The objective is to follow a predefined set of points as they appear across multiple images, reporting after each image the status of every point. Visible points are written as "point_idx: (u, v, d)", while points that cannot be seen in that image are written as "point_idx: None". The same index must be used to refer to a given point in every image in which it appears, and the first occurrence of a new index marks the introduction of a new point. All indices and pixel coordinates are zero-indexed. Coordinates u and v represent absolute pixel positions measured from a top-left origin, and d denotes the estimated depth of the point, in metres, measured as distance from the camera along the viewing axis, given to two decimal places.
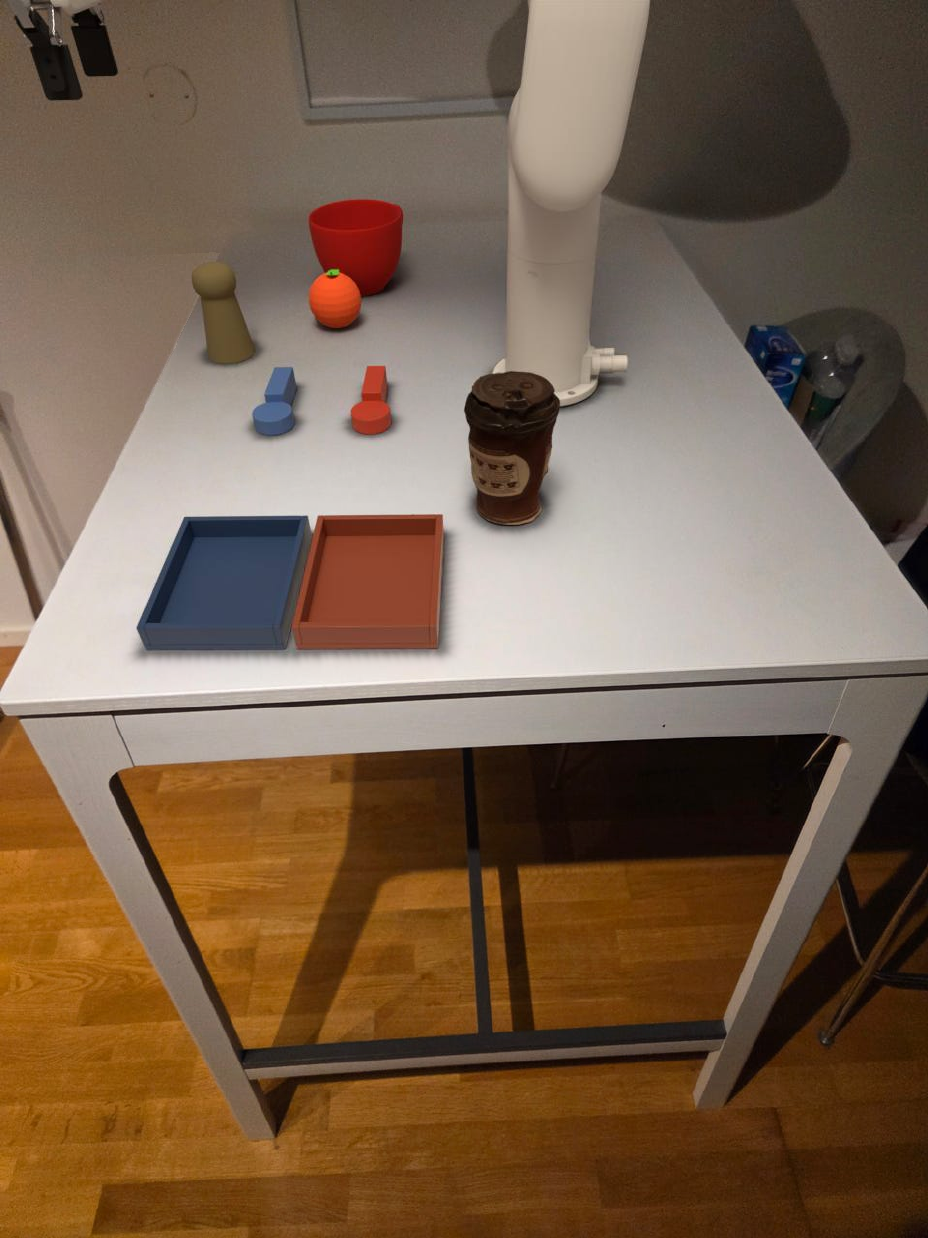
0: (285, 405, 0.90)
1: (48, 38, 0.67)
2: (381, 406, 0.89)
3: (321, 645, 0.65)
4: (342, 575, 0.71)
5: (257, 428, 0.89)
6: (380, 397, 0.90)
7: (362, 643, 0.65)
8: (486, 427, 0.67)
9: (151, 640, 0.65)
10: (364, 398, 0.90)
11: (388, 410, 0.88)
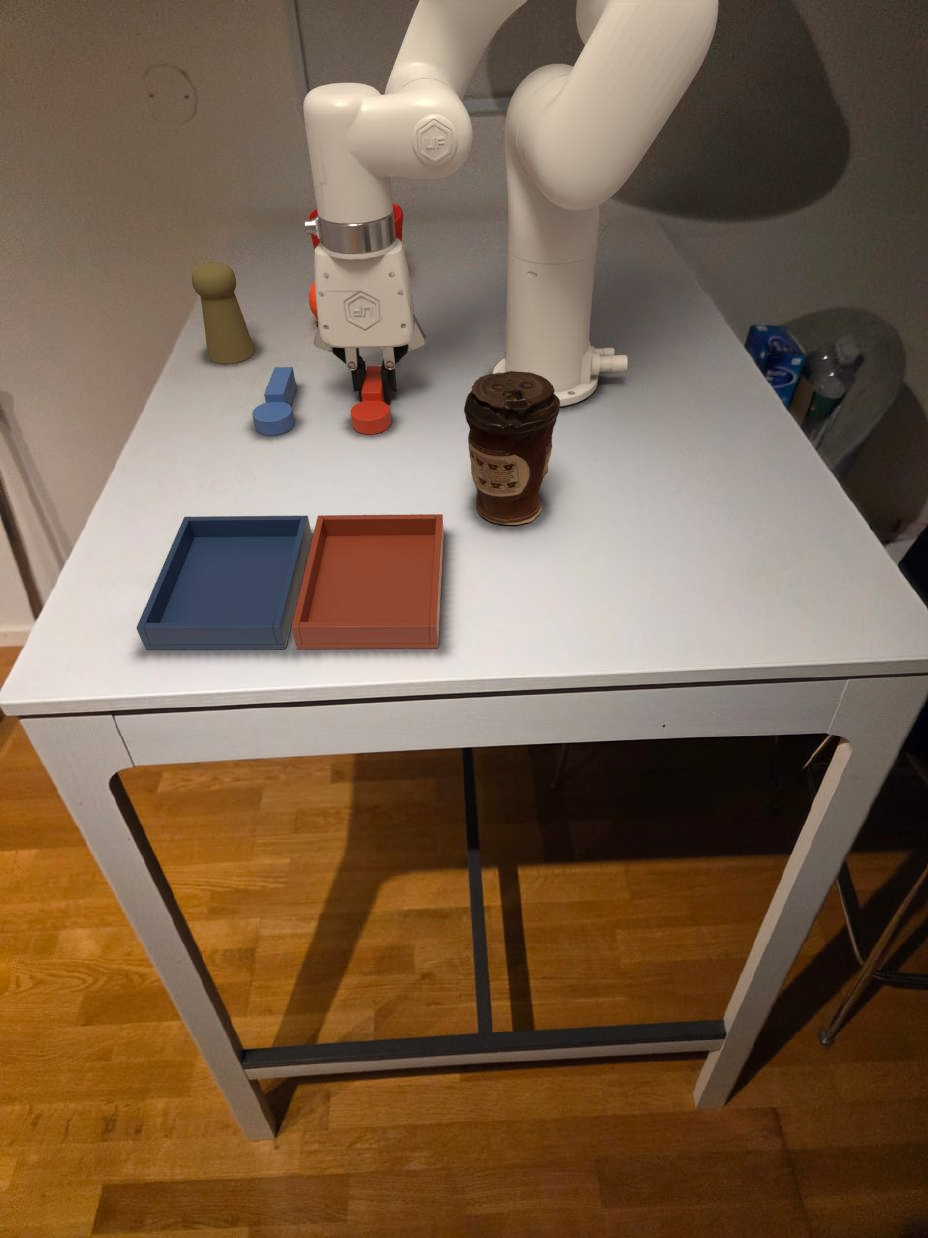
0: (285, 405, 0.90)
1: None
2: (381, 406, 0.89)
3: (321, 645, 0.65)
4: (342, 575, 0.71)
5: (257, 428, 0.89)
6: (380, 397, 0.90)
7: (362, 643, 0.65)
8: (486, 427, 0.67)
9: (151, 640, 0.65)
10: (364, 398, 0.90)
11: (388, 410, 0.88)
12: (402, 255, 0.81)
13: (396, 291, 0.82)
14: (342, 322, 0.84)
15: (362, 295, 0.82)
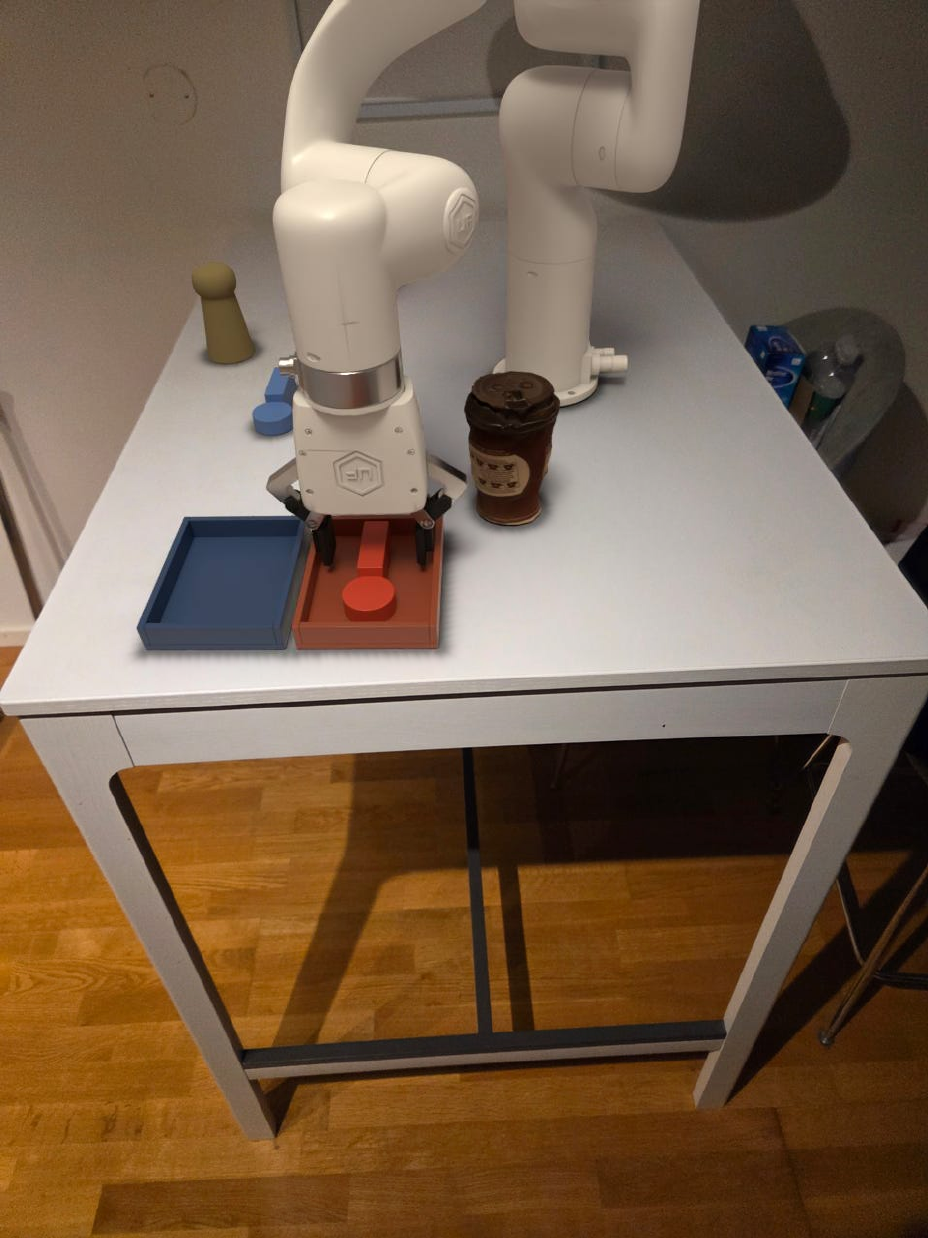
0: (285, 405, 0.90)
1: (304, 521, 0.67)
2: (383, 586, 0.67)
3: (321, 645, 0.65)
4: (342, 575, 0.71)
5: (257, 428, 0.89)
6: (382, 572, 0.68)
7: (362, 643, 0.65)
8: (486, 427, 0.67)
9: (151, 640, 0.65)
10: (360, 574, 0.68)
11: (392, 593, 0.66)
12: (413, 404, 0.59)
13: (405, 450, 0.60)
14: (331, 487, 0.62)
15: (358, 455, 0.60)
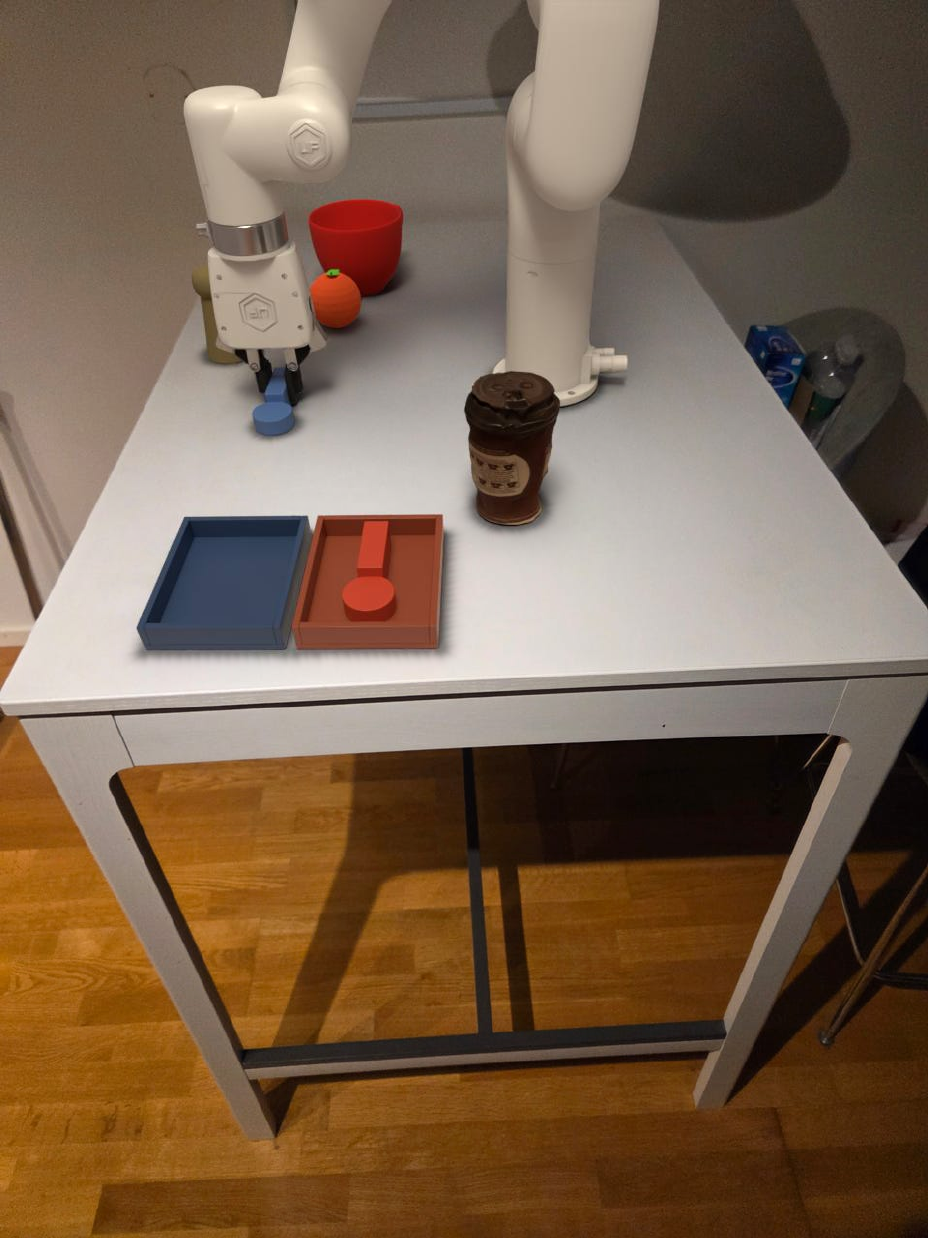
0: (285, 405, 0.90)
1: None
2: (383, 586, 0.67)
3: (321, 645, 0.65)
4: (342, 575, 0.71)
5: (257, 428, 0.89)
6: (382, 572, 0.68)
7: (362, 643, 0.65)
8: (486, 427, 0.67)
9: (151, 640, 0.65)
10: (360, 574, 0.68)
11: (392, 593, 0.66)
12: (294, 257, 0.81)
13: (290, 293, 0.82)
14: (239, 324, 0.85)
15: (256, 297, 0.83)
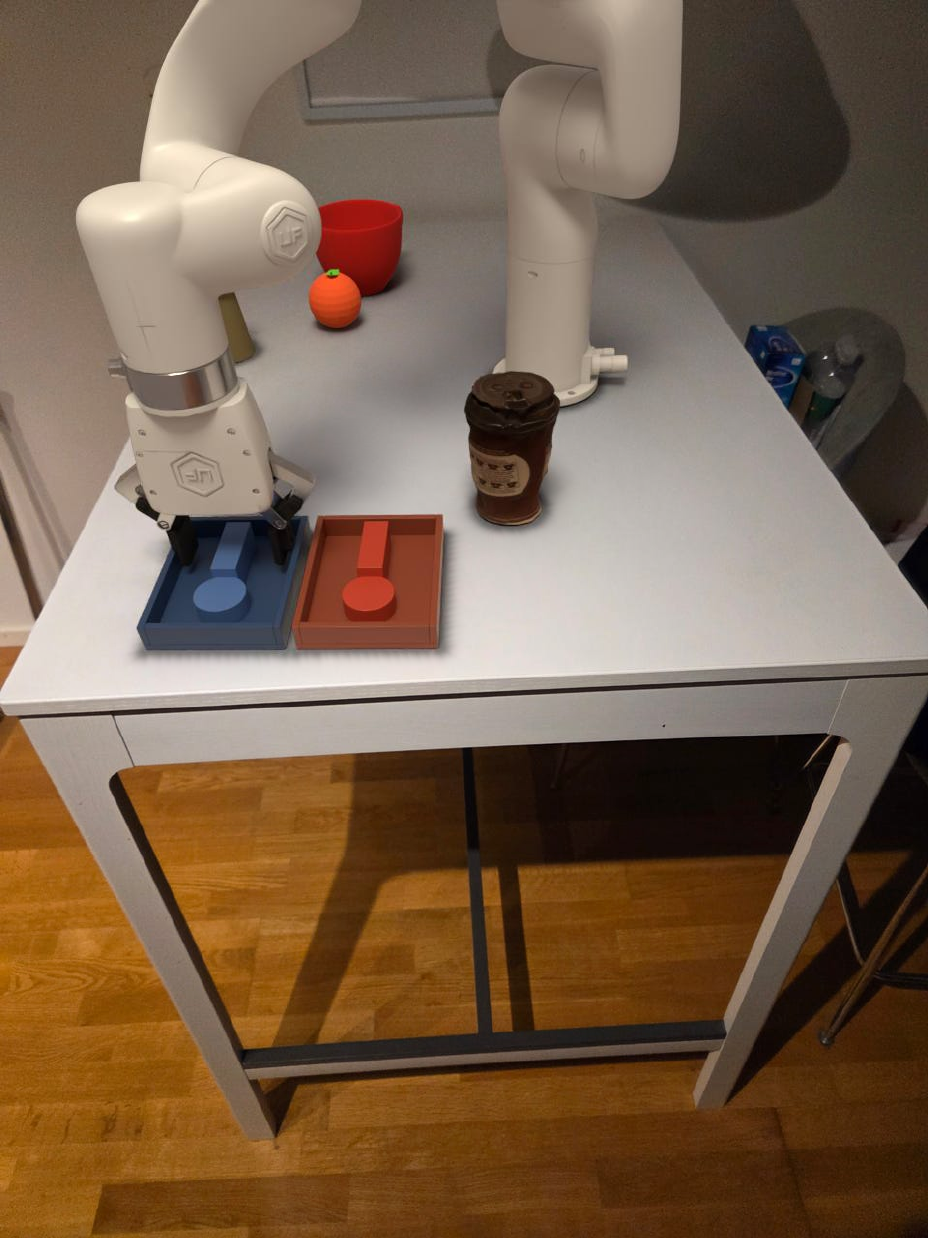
0: (238, 583, 0.67)
1: (157, 521, 0.68)
2: (383, 586, 0.67)
3: (321, 645, 0.65)
4: (342, 575, 0.71)
5: (200, 617, 0.67)
6: (382, 572, 0.68)
7: (362, 643, 0.65)
8: (486, 427, 0.67)
9: (151, 640, 0.65)
10: (360, 574, 0.68)
11: (392, 593, 0.66)
12: (245, 406, 0.59)
13: (240, 451, 0.60)
14: (173, 488, 0.63)
15: (194, 456, 0.61)
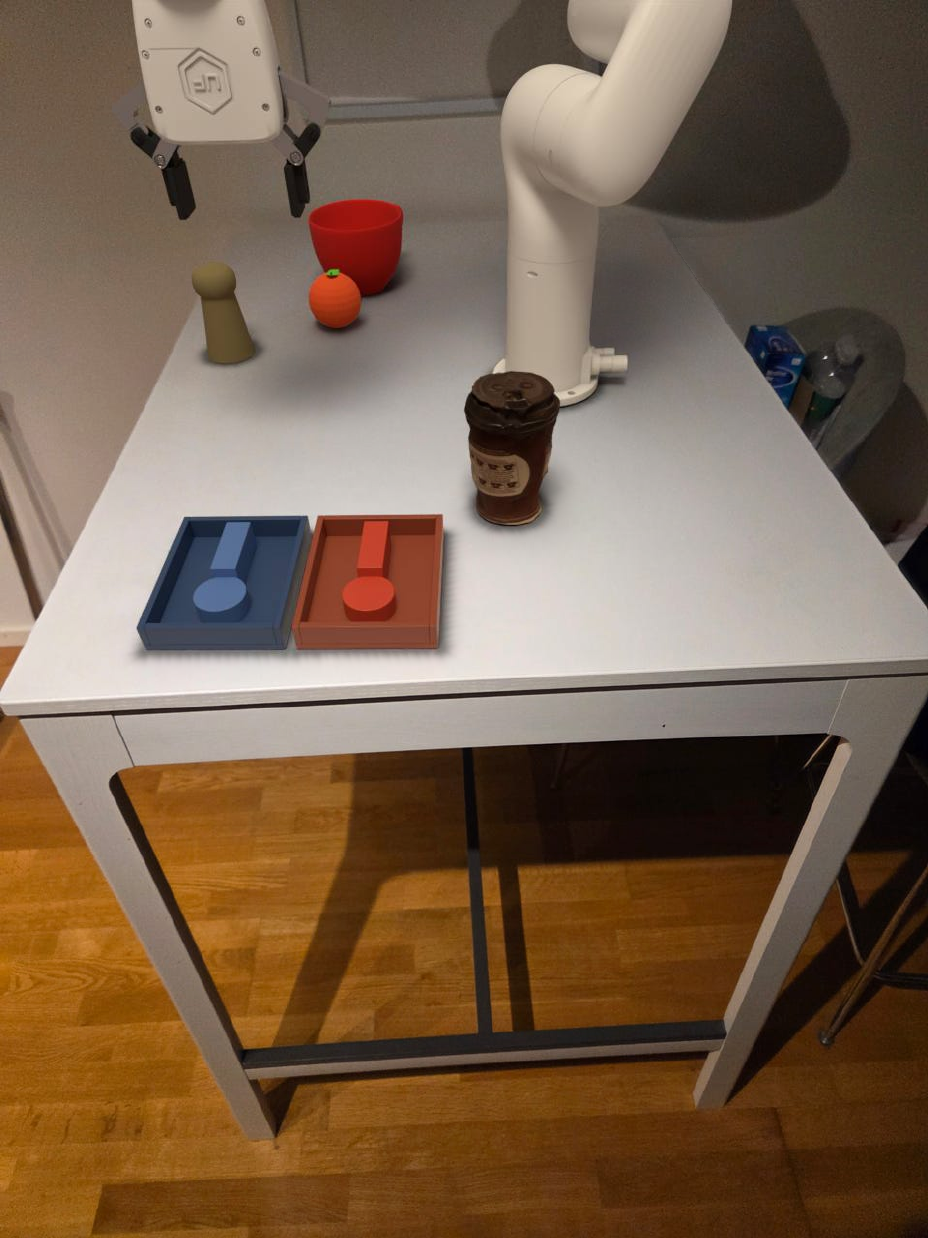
0: (238, 583, 0.67)
1: None
2: (383, 586, 0.67)
3: (321, 645, 0.65)
4: (342, 575, 0.71)
5: (200, 617, 0.67)
6: (382, 572, 0.68)
7: (362, 643, 0.65)
8: (486, 427, 0.67)
9: (151, 640, 0.65)
10: (360, 574, 0.68)
11: (392, 593, 0.66)
12: None
13: (250, 49, 0.58)
14: (180, 102, 0.61)
15: (202, 55, 0.58)
